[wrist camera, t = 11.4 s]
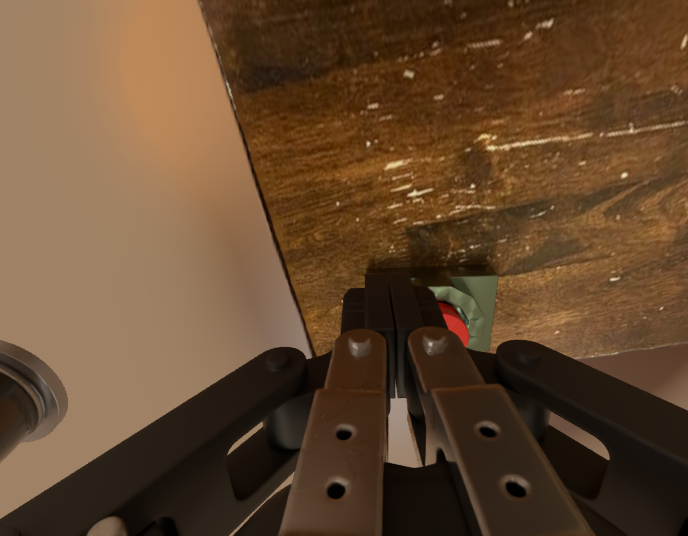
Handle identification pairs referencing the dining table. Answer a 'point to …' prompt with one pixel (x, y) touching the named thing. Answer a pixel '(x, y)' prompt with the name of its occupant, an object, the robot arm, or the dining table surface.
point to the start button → (455, 322)
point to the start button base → (460, 294)
